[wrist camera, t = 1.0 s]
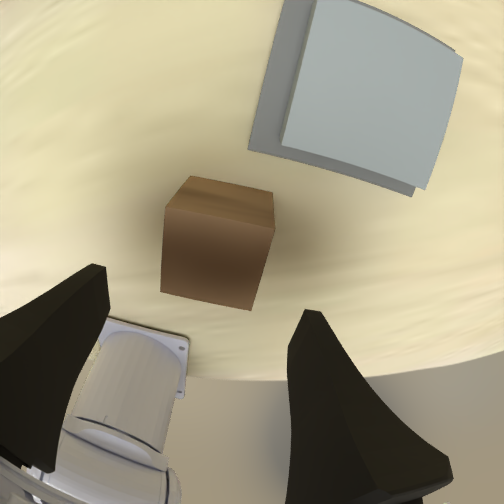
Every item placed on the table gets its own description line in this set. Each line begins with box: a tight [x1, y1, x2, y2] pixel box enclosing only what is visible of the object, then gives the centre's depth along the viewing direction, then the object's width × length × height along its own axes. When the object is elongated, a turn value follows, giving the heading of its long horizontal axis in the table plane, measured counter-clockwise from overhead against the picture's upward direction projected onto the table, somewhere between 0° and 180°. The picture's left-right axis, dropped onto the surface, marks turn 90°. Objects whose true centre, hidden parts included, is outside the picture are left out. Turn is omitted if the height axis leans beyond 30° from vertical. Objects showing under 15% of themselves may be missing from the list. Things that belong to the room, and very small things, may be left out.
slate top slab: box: [279, 0, 463, 190], centre depth 10 cm, size 7×7×2 cm
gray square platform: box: [248, 0, 455, 197], centre depth 12 cm, size 9×9×2 cm
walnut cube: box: [160, 176, 275, 311], centre depth 15 cm, size 4×4×4 cm
